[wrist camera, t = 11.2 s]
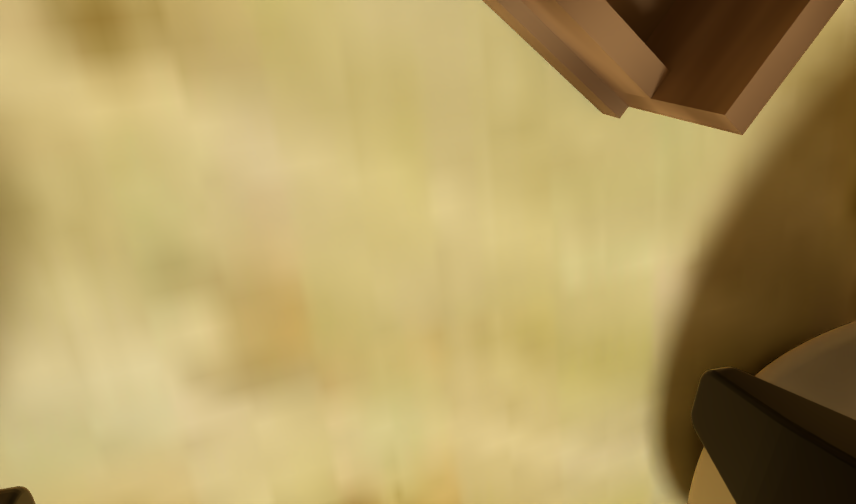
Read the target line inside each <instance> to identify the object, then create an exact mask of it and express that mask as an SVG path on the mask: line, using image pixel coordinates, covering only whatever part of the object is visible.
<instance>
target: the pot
mask: <svg viewBox="0 0 856 504" xmlns="http://www.w3.org/2000/svg"><path fill="white" fill-rule="evenodd" d="M755 377H758V378H760V379H762V380H765V381H767V382H769V383H771V384H774V385H776V386H778V387H781V388H783V389H785V390H788V391H790V392H792V393H795V394H797V395H799V396H802V397H804V398H806V399H808V400H811V401H813V402H815V403H818V404H820V405H822V406H825V407H827V408H829V409H832V410H834V411H836V412H839V413H841V414H843V415H845V416H848V417H850V418H852V419H855V420H856V321H854V322H851V323H848V324H846V325H843V326H840V327H838V328H835V329H833V330H830V331H828V332H826V333H823V334H821V335H819V336H817V337H815V338H812V339H810V340H808V341H806V342H805V343H803V344H801V345H799V346H797V347H795V348H793V349H792V350H790V351H788V352H787V353H785V354H783V355H782V356H780V357H779V358H777V359H776V360H774V361H773V362H772V363H770V364H769V365H767V366H766V367H765V368H764V369H762V370H761V371H760V372H759V373H758V374H757V375H755ZM688 504H736V503H735V501H734V499H733V497H732V496H731V494H730V492H729V490H728V488H727V487H726V485H725V483H724V481H723V479H722V478H721V476H720V474H719V472H718V470H717V469H716V467H715V465H714V463H713V462H712V460H711V458H710V456H709V454H708V453H707V451H706V449H705V447H704V448H703V450H702V452H701V455H700V458H699V460H698V463H697V466H696V469H695V473H694V476H693V479H692V483H691V488H690V492H689V498H688Z"/></svg>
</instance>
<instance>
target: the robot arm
mask: <svg viewBox="0 0 856 504" xmlns="http://www.w3.org/2000/svg"><path fill="white" fill-rule="evenodd" d="M691 420H692V424H693V427H694V429H695V431H696V433H697V435H698V436H699V438H700V440H701V442H702V444H703V445H704V447H705V449H706V451H707V453H708V454H709V456H710V458H711V460H712V462H713V463H714V465H715V467H716V469H717V470H718V472H719V474H720V476H721V478H722V479H723V481H724V483H725V485H726V487H727V488H728V490H729V492H730V494H731V496H732V497H733V499H734V501H735V503H736V504H856V420H855V419H852V418H850V417H848V416H845V415H843V414H841V413H839V412H836V411H834V410H832V409H829V408H827V407H825V406H822V405H820V404H818V403H815V402H813V401H811V400H808V399H806V398H804V397H802V396H799V395H797V394H795V393H792V392H790V391H788V390H785V389H783V388H781V387H778V386H776V385H774V384H771V383H769V382H767V381H765V380H762V379H760V378H758V377H755V376H753V375H751V374H748V373H746V372H744V371H741V370H739V369H737V368H734V367H722V368H716V369H710V370H707V371H705V372H704V373H703V374H702V375H701V378H700V381H699V384H698V388H697V392H696V395H695V399H694V403H693V406H692V410H691ZM0 504H35V501H34V499H33V497H32V495H31V493H30V491H29V490H28V489H27V488H25V487H20V486H17V487H11V488H5V489H0Z"/></svg>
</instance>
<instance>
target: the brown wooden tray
mask: <svg viewBox="0 0 856 504" xmlns="http://www.w3.org/2000/svg"><path fill="white" fill-rule="evenodd" d="M483 1H484V2H485V3H486V4H487V5H488V6H489V7H490V8H491V9H492V10H493V11H494V12H495V13H497V14H498V15H499V16H500V17H501V18H502V19H503V20H504V21H505V22H506V23H507V24H508V25H509V26H510V27H511V28H512V29H514V30H515V31H516V32H517V33H518V34H519V35H520V36H521V37H522V38H523V39H524V40H525V41H526V42H527V43H528V44H529V45H530V46H532V47H533V48H534V49H535V50H536V51H537V52H538V53H539V54H540V55H541V56H542V57H543V58H544V59H545V60H546V61H547V62H549V63H550V64H551V65H552V66H553V67H554V68H555V69H556V70H557V71H558V72H559V73H560V74H561V75H562V76H563V77H564V78H566V79H567V80H568V81H569V82H570V83H571V84H572V85H573V86H574V87H575V88H576V89H577V90H578V91H579V92H580V93H581V94H583V95H584V96H585V97H586V98H587V99H588V100H589V101H590V102H591V103H592V104H593V105H594V106H595V107H596V108H597V109H598V110H600V111H601V112H602V113H603V114H606V115H610V116H613V117H617V118H620V117H621V116H622V115H623V113H624V112H625V110H626V109H627V108H628V106H629V107H633V108H637V109H641V110H645V111H649V112H653V113H657V114H661V115H665V116H668V117H672V118H676V119H680V120H684V121H688V122H692V123H696V124H700V125H704V126H708V127H712V128H716V129H720V130H724V131H728V132H732V133H736V134H740V135H743V134H744V132H745V131H746V130H747V128H748V127H749V126H750V124H751V123H752V122H753V120H754V119H755V118H756V116H757V115H758V114H759V112H760V111H761V110H762V108H763V107H764V106H765V104H766V103H767V102H768V100H769V99H770V98H771V97H772V95H773V94H774V93H775V91H776V90H777V89H778V87H779V86H780V85H781V83H782V82H783V81H784V79H785V78H786V77H787V75H788V74H789V73H790V71H791V70H792V69H793V67H794V66H795V65H796V63H797V62H798V61H799V59H800V58H801V57H802V55H803V54H804V53H805V51H806V50H807V49H808V47H809V46H810V45H811V43H812V42H813V41H814V39H815V38H816V37H817V35H818V34H819V33H820V31H821V30H822V29H823V27H824V26H825V25H826V23H827V22H828V21H829V19H830V18H831V17H832V16H833V14H834V13H835V12H836V10H837V9H838V8H839V6H840V5H841V4H842V2H843V1H844V0H483Z"/></svg>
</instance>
